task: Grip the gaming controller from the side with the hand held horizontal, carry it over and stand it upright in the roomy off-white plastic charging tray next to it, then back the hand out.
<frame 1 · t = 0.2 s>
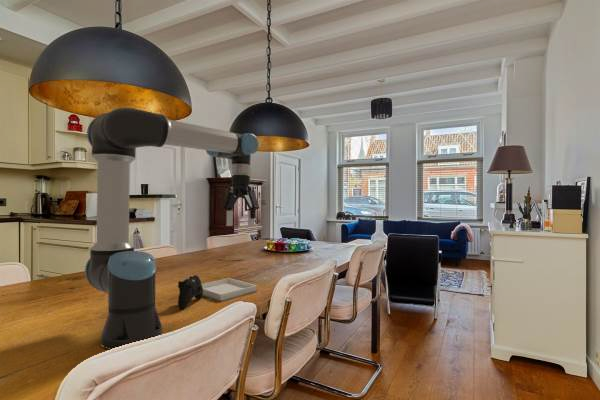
hand: (239, 226, 137), 27 cm above the table, tool pointing down, fingers open, 13 cm apart
charging tray: (225, 291, 139), on the table
gaming controller: (191, 304, 123), on the table
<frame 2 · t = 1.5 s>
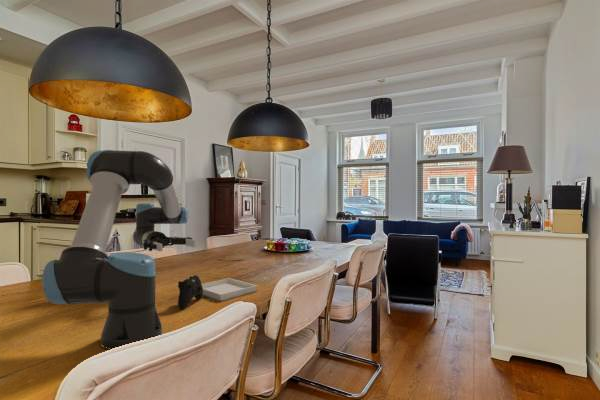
hand: (178, 245, 129), 20 cm above the table, tool horizontal, fingers open, 13 cm apart
nothing on the table moved.
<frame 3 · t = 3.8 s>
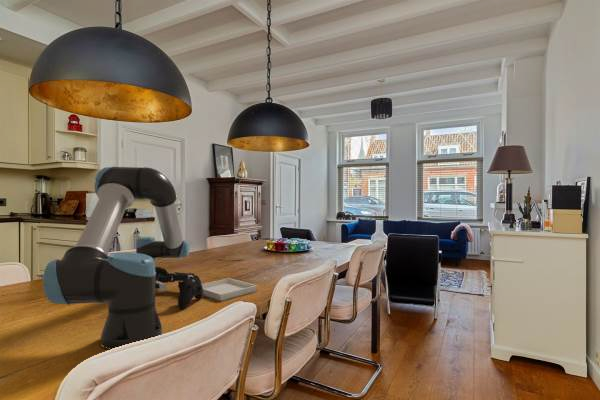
hand: (181, 284, 128), 6 cm above the table, tool horizontal, fingers open, 13 cm apart
nothing on the table moved.
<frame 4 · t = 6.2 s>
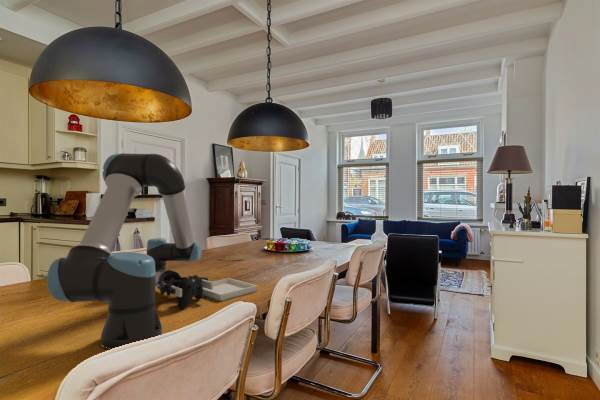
hand: (197, 289, 120), 6 cm above the table, tool horizontal, fingers closed on gaming controller, 12 cm apart
gaming controller: (191, 304, 122), on the table, touching gripper
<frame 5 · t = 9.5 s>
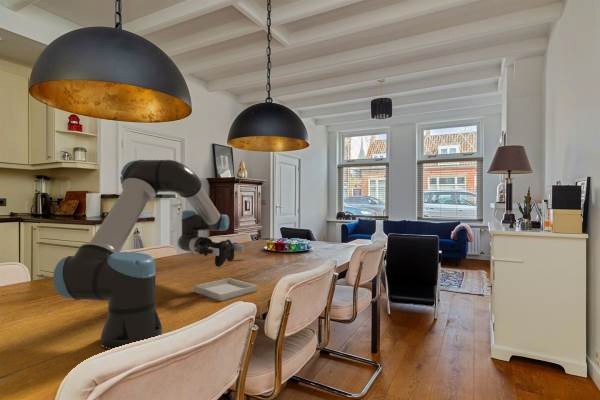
hand: (231, 250, 136), 18 cm above the table, tool horizontal, fingers closed on gaming controller, 12 cm apart
gaming controller: (225, 264, 139), point 11 cm above the table, touching gripper
when the fingers open (7 cm above the table, at t = 12.7 s): gaming controller stays where it is, resting on charging tray.
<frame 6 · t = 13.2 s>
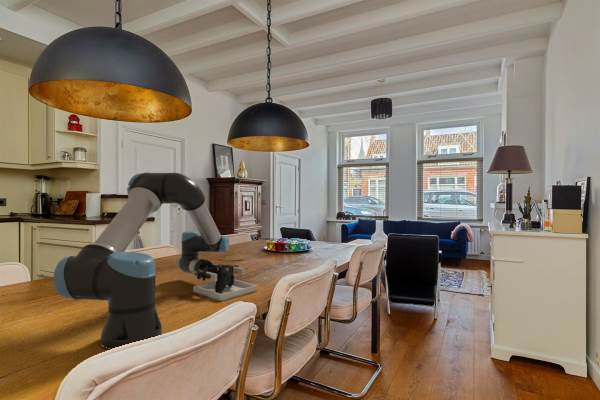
hand: (230, 274, 136), 7 cm above the table, tool horizontal, fingers open, 13 cm apart
gaming controller: (225, 290, 139), resting on charging tray
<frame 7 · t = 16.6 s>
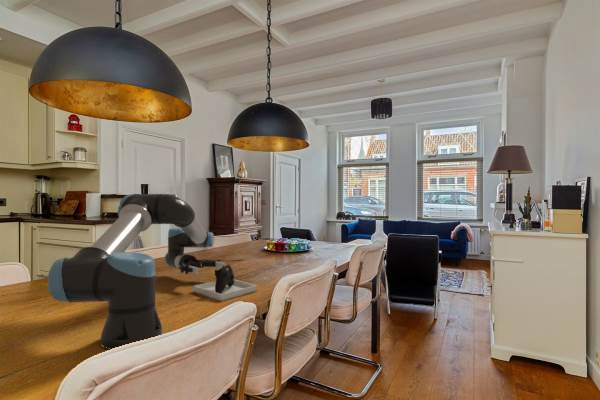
hand: (211, 268, 145), 8 cm above the table, tool horizontal, fingers open, 13 cm apart
nothing on the table moved.
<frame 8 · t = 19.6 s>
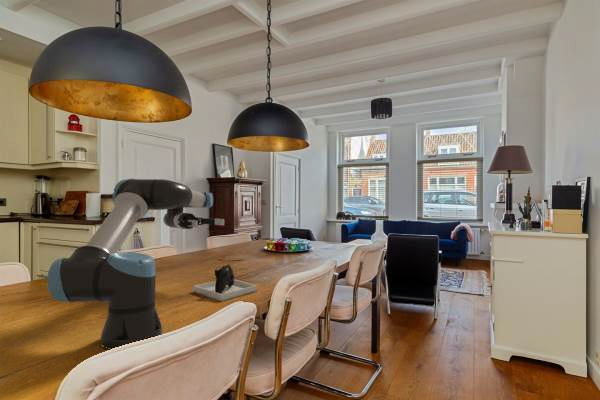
hand: (210, 223, 146), 28 cm above the table, tool horizontal, fingers open, 13 cm apart
nothing on the table moved.
at the end: gaming controller inside the target area on the charging tray (0.0 cm from its centre), point 0.4 cm above the charging tray's base; gaming controller tilted 0°; the gripper is holding nothing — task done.
